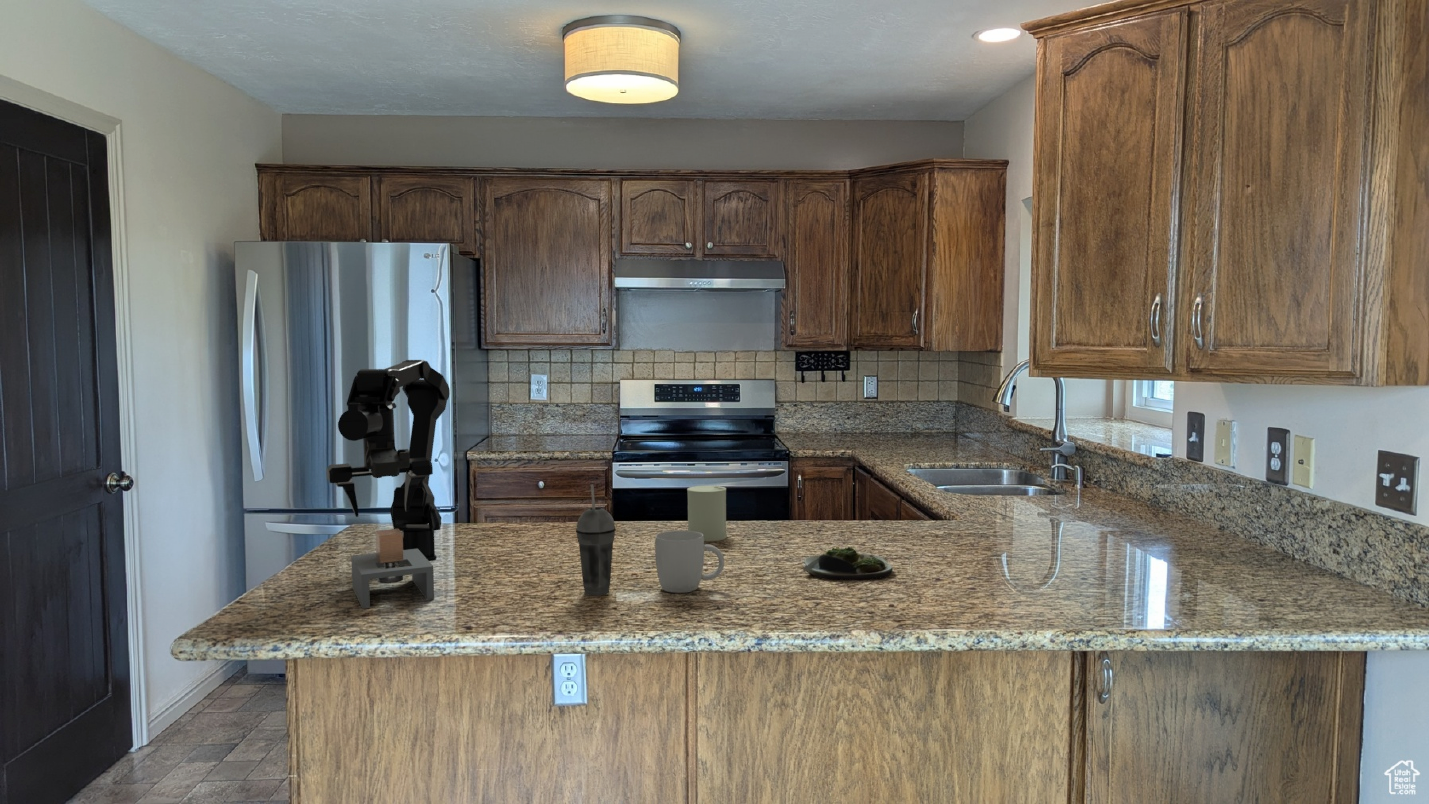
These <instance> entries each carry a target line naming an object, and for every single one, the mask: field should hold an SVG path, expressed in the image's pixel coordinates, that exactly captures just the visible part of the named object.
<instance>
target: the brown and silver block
mask: <svg viewBox="0 0 1429 804" xmlns="http://www.w3.org/2000/svg"><path fill="white" fill-rule="evenodd" d="M375 546H376V547H375V549H376V552H375V553H376V555H377V559H378V560H379V562H380V563H384V567H382V568H379V570H380V569H389V568H397V567H398V566H396V562H395V561H403V533H402V532H401V531H400V530H399V529H394V528H391V529H382V530H381V529H380V530H379V529H378V530H375ZM403 580H404V575H402V576H394V577H385V578H377V583H379V584H395V583H399V582H400V583H401V582H402V581H403Z"/></svg>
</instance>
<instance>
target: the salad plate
mask: <svg viewBox="0 0 1429 804" xmlns="http://www.w3.org/2000/svg"><path fill="white" fill-rule="evenodd" d="M804 565H805V566H804V567H803V568H802V571H805V572H806V573H809V574H811V575H812V576H813V577H815V578H818V579H823V580H829V581H871V580H872V581H873V580H881V579H884V578H887V577H889V575H891V574H892V573H893V565H891V564H890V563H888V562H887V561H886V560H885V559H884V558H883V557H882V556H880V555H879V556H878V555H875V554H870V553H869V554H868V553H859V552H857V551H856V549H855V548H853V547H850V546H848V547H845V548H840V546H835V547H832V548H831V549H828V550H827V551H825V552H824V553H823V554H820V555H819V554H818V555H812V556H808V557H806V558H804Z"/></svg>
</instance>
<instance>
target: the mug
mask: <svg viewBox="0 0 1429 804" xmlns="http://www.w3.org/2000/svg"><path fill="white" fill-rule="evenodd" d="M654 539H655V540H654V551H655V552H654V554H655V556H654V557H655V566H656V572H657V577H658V581H659V585H660V586H661V589H662V590H663V591H664V592H668V593H675V594H685V593H691V592H695V591H697V589H698V588H699V585H700V582H701V581H702V580H703V581H710V580H714V579H716V578H717V577H719V576H720V574H721V573H722V572H723V571H724V567H725V557H724V554H723V553H722V551H721V549H719V548H718V547H716V546H715V545H713V544H709V543H708V544H707V543H706V544H705V542H704V536H703V534H702V533H700V532H695V531H688V530H667V531H664V532H663V531H662V532H658V533H657V534H655V538H654ZM705 551H709V552H712V553H714V554H715V555H716V557H717V559H718V565H717V568H716V569H715V570H714V571H711V573H704V574H703V569H704V561H705Z"/></svg>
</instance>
